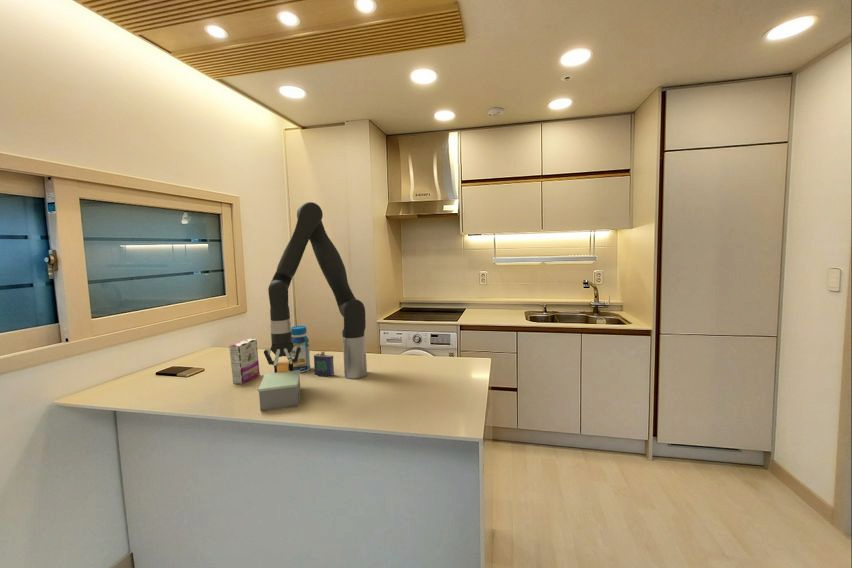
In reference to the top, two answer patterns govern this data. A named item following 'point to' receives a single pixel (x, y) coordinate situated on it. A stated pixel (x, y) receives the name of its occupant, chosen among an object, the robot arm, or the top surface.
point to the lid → (280, 378)
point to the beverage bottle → (302, 341)
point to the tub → (279, 398)
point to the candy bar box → (244, 361)
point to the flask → (323, 364)
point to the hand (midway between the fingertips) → (284, 373)
